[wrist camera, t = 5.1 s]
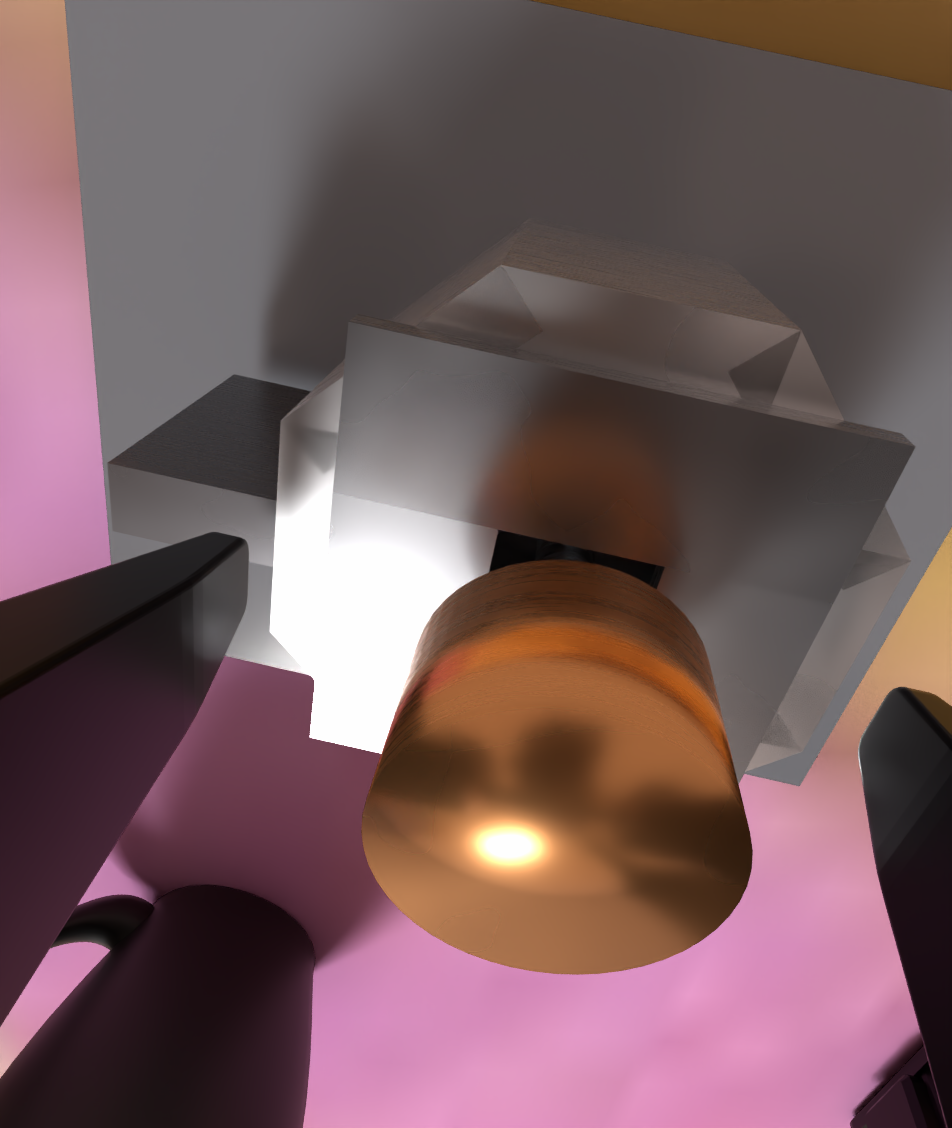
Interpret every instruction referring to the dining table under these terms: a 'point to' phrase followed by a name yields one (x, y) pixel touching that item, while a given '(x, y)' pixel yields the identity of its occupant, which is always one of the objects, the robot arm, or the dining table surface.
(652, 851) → the plunger
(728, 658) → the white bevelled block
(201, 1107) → the mug
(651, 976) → the dining table surface
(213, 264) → the slate board
